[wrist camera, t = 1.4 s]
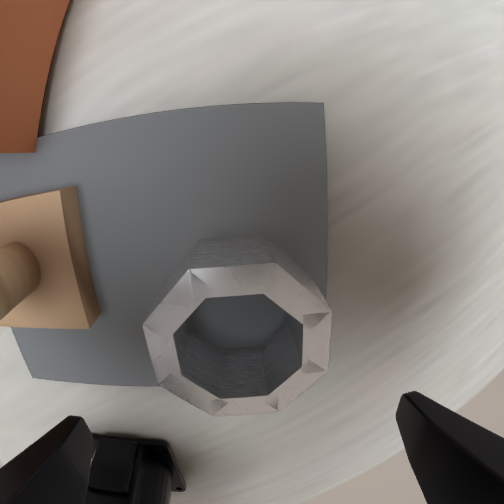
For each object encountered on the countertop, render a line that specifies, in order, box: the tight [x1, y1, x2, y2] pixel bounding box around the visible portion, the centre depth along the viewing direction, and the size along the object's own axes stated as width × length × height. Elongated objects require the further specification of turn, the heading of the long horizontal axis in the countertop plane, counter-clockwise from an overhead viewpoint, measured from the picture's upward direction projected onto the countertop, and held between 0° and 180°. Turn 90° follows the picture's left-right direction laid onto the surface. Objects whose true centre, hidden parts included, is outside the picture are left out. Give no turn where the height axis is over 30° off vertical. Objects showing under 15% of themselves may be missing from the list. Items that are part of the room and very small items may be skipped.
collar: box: [143, 234, 332, 416], centre depth 12 cm, size 6×6×4 cm
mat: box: [0, 102, 327, 386], centre depth 14 cm, size 13×17×1 cm
